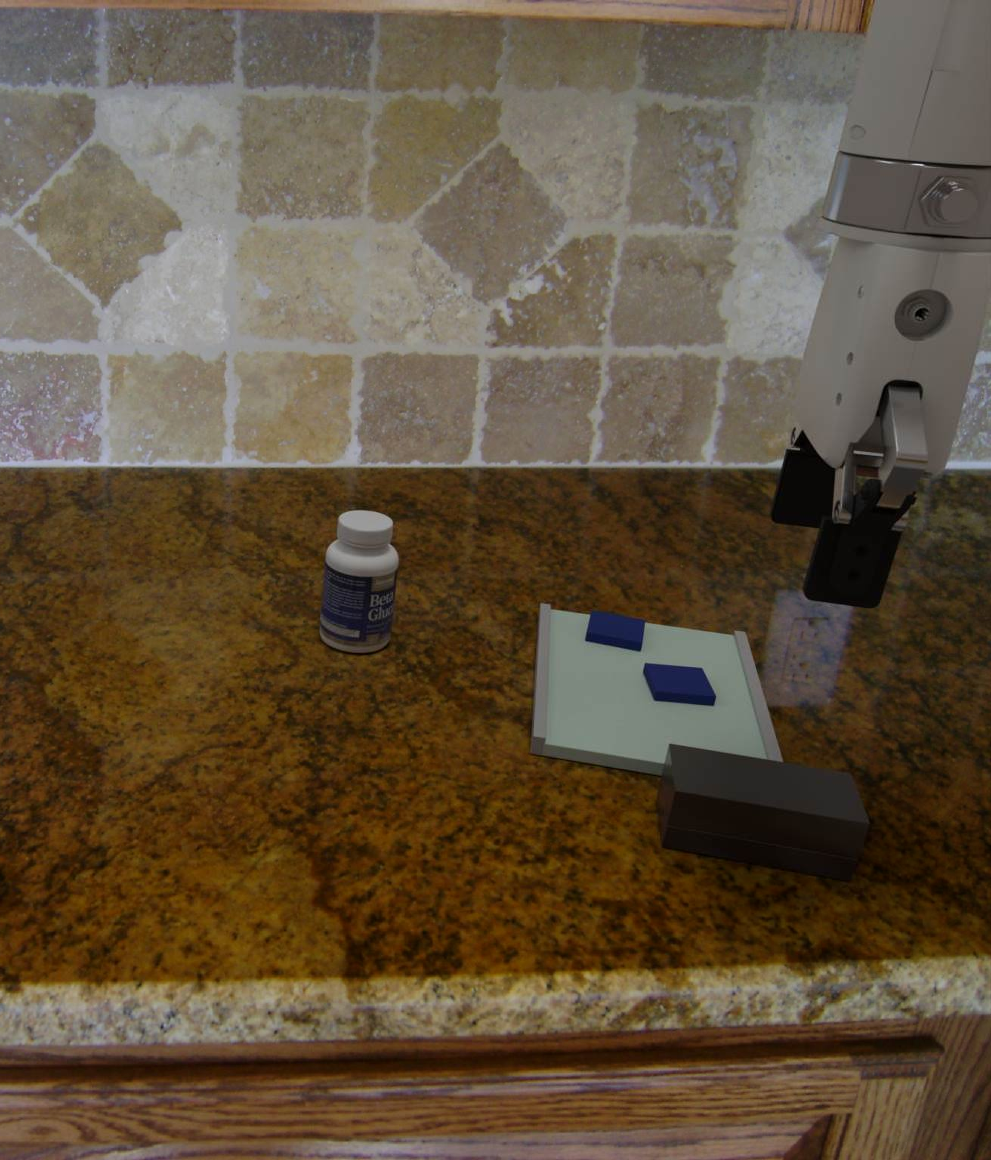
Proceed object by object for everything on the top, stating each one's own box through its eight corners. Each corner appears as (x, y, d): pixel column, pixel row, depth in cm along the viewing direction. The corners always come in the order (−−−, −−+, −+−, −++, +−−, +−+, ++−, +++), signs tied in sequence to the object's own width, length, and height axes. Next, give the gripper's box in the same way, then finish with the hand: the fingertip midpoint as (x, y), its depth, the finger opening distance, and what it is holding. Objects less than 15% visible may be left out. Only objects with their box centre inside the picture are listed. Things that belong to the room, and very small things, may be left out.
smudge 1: (643, 628, 89) (645, 619, 89) (640, 652, 86) (642, 642, 86) (589, 618, 91) (591, 609, 90) (584, 641, 87) (586, 631, 87)
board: (741, 647, 89) (745, 631, 89) (783, 797, 72) (788, 778, 71) (537, 618, 93) (540, 602, 92) (530, 753, 75) (533, 735, 75)
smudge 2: (700, 677, 83) (702, 667, 83) (714, 706, 79) (716, 696, 79) (642, 672, 83) (644, 662, 83) (654, 700, 80) (656, 690, 79)
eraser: (833, 828, 69) (851, 772, 67) (850, 882, 65) (870, 823, 63) (656, 797, 71) (668, 742, 70) (661, 847, 67) (675, 790, 65)
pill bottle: (374, 662, 85) (386, 540, 81) (307, 643, 88) (316, 524, 83) (400, 632, 90) (413, 515, 85) (336, 615, 92) (346, 500, 88)
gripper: (1097, 240, 42) (952, 652, 50) (956, 187, 57) (861, 509, 65) (873, 224, 44) (764, 625, 51) (793, 176, 59) (718, 492, 66)
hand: (818, 560), depth 58 cm, fingers open, 9 cm apart
